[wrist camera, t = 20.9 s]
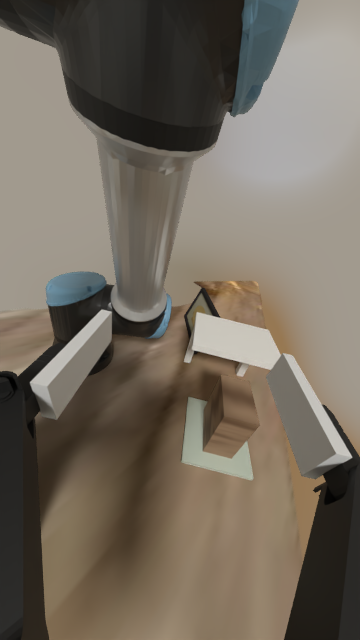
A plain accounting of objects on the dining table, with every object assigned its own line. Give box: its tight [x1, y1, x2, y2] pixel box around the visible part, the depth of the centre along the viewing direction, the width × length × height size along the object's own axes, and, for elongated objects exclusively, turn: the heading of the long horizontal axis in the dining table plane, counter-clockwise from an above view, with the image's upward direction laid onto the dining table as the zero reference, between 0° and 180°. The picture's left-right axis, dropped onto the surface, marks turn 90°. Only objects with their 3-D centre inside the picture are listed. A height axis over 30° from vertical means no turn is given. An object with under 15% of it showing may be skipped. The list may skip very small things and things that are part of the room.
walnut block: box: [203, 374, 260, 459], centre depth 37 cm, size 9×6×13 cm, turn 173°
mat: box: [181, 397, 253, 480], centre depth 41 cm, size 14×14×1 cm
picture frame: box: [184, 288, 220, 354], centre depth 69 cm, size 23×9×15 cm, turn 7°
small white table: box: [184, 312, 281, 376], centre depth 49 cm, size 14×20×18 cm
